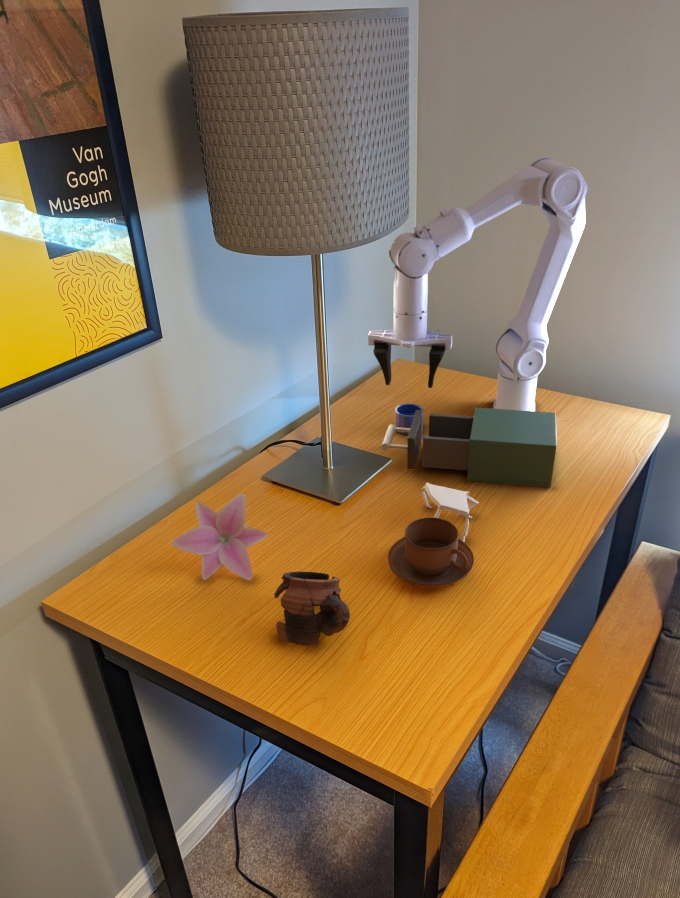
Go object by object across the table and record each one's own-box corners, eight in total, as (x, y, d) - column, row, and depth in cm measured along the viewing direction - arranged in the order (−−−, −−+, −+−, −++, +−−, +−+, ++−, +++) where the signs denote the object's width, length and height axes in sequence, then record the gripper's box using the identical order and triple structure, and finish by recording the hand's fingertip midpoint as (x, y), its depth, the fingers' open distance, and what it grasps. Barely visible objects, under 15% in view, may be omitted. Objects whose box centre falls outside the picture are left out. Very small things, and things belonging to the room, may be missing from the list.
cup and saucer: (482, 552, 108) (485, 517, 104) (459, 604, 99) (461, 567, 95) (404, 535, 111) (405, 501, 108) (375, 583, 102) (374, 548, 99)
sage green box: (467, 480, 124) (469, 439, 119) (472, 446, 133) (475, 407, 128) (550, 487, 121) (556, 445, 117) (550, 452, 131) (555, 412, 126)
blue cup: (397, 421, 141) (397, 402, 139) (424, 423, 140) (425, 404, 138) (392, 434, 137) (392, 415, 135) (421, 436, 136) (421, 417, 134)
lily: (169, 571, 107) (160, 543, 99) (209, 506, 112) (204, 475, 104) (243, 606, 106) (240, 581, 98) (280, 539, 111) (281, 510, 103)
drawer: (379, 467, 126) (379, 435, 122) (389, 437, 134) (389, 407, 131) (481, 475, 123) (484, 443, 120) (485, 445, 131) (487, 414, 128)
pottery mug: (256, 635, 95) (260, 572, 95) (308, 626, 103) (313, 567, 102) (323, 657, 88) (329, 588, 87) (375, 646, 95) (380, 582, 94)
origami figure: (494, 522, 114) (496, 495, 111) (462, 547, 109) (464, 520, 106) (431, 495, 120) (432, 469, 117) (399, 518, 115) (399, 491, 112)
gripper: (363, 315, 123) (365, 391, 131) (451, 320, 121) (447, 396, 129) (371, 301, 129) (372, 374, 137) (455, 305, 127) (451, 379, 135)
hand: (409, 384), depth 133 cm, fingers open, 7 cm apart
